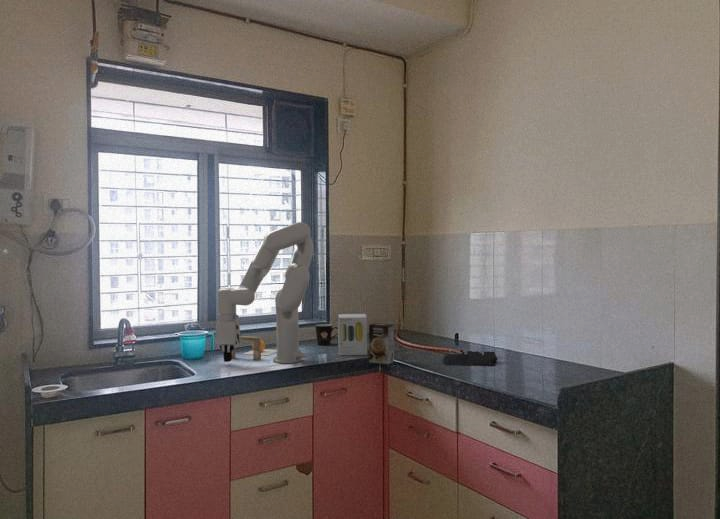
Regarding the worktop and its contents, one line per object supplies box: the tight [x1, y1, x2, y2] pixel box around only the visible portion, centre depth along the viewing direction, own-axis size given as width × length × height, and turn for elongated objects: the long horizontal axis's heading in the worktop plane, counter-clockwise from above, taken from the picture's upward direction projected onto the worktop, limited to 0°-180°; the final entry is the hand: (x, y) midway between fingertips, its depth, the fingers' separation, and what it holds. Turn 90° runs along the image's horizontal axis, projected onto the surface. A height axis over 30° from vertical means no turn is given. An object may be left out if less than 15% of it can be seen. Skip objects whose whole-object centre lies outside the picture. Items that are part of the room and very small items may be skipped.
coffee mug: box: [314, 323, 338, 347], centre depth 265 cm, size 12×9×10 cm
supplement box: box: [337, 313, 368, 356], centre depth 242 cm, size 13×13×18 cm
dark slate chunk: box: [442, 350, 498, 367], centre depth 218 cm, size 15×22×5 cm
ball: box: [251, 339, 266, 352], centre depth 246 cm, size 6×6×6 cm
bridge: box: [232, 335, 262, 361], centre depth 231 cm, size 3×15×10 cm, turn 71°
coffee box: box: [368, 322, 395, 365], centre depth 220 cm, size 9×6×16 cm
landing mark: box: [242, 348, 277, 356], centre depth 246 cm, size 13×13×1 cm
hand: (227, 361), depth 219 cm, fingers closed
